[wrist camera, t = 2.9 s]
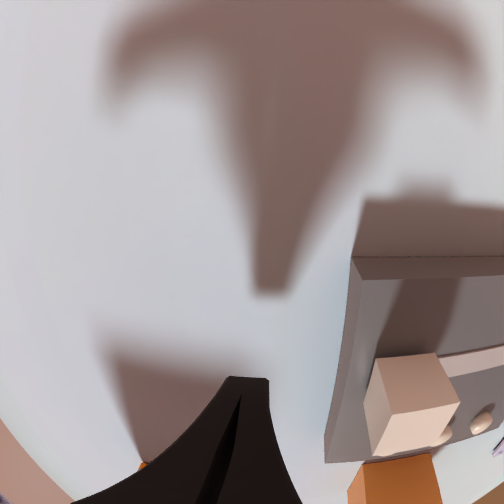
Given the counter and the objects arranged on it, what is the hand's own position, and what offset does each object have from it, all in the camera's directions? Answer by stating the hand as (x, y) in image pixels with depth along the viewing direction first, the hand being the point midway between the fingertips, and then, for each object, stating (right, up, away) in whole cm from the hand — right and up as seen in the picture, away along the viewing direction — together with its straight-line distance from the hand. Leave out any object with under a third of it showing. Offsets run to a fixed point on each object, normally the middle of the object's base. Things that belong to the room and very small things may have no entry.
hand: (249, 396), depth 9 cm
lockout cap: (+10, -12, +6) cm, 17 cm away
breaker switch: (+6, 0, 0) cm, 6 cm away
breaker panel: (+10, 0, +2) cm, 10 cm away
